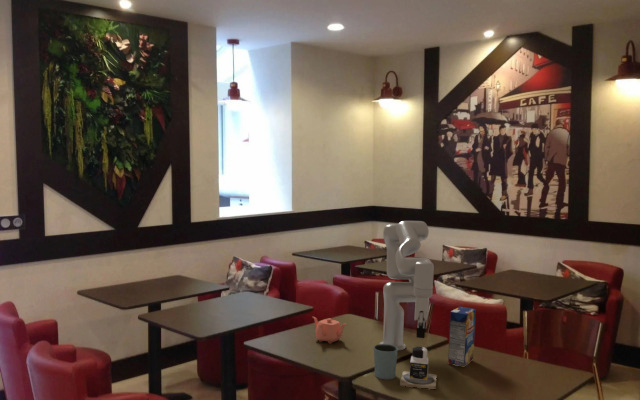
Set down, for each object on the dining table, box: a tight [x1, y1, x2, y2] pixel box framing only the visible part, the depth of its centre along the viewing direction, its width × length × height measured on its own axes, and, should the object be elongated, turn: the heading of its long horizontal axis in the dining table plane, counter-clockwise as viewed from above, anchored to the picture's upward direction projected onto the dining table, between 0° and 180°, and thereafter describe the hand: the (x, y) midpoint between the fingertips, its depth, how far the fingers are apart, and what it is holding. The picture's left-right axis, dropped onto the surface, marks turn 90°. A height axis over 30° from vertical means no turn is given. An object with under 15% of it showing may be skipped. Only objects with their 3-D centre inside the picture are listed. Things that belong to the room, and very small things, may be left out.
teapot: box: [312, 316, 347, 344], centre depth 290 cm, size 14×14×11 cm
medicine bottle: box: [409, 346, 429, 380], centre depth 240 cm, size 7×7×12 cm
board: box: [399, 370, 438, 390], centre depth 241 cm, size 14×14×2 cm
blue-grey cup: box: [373, 343, 399, 381], centre depth 246 cm, size 10×10×12 cm
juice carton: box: [447, 306, 477, 366], centre depth 264 cm, size 12×8×24 cm, turn 147°
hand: (421, 334), depth 239 cm, fingers open, 6 cm apart
